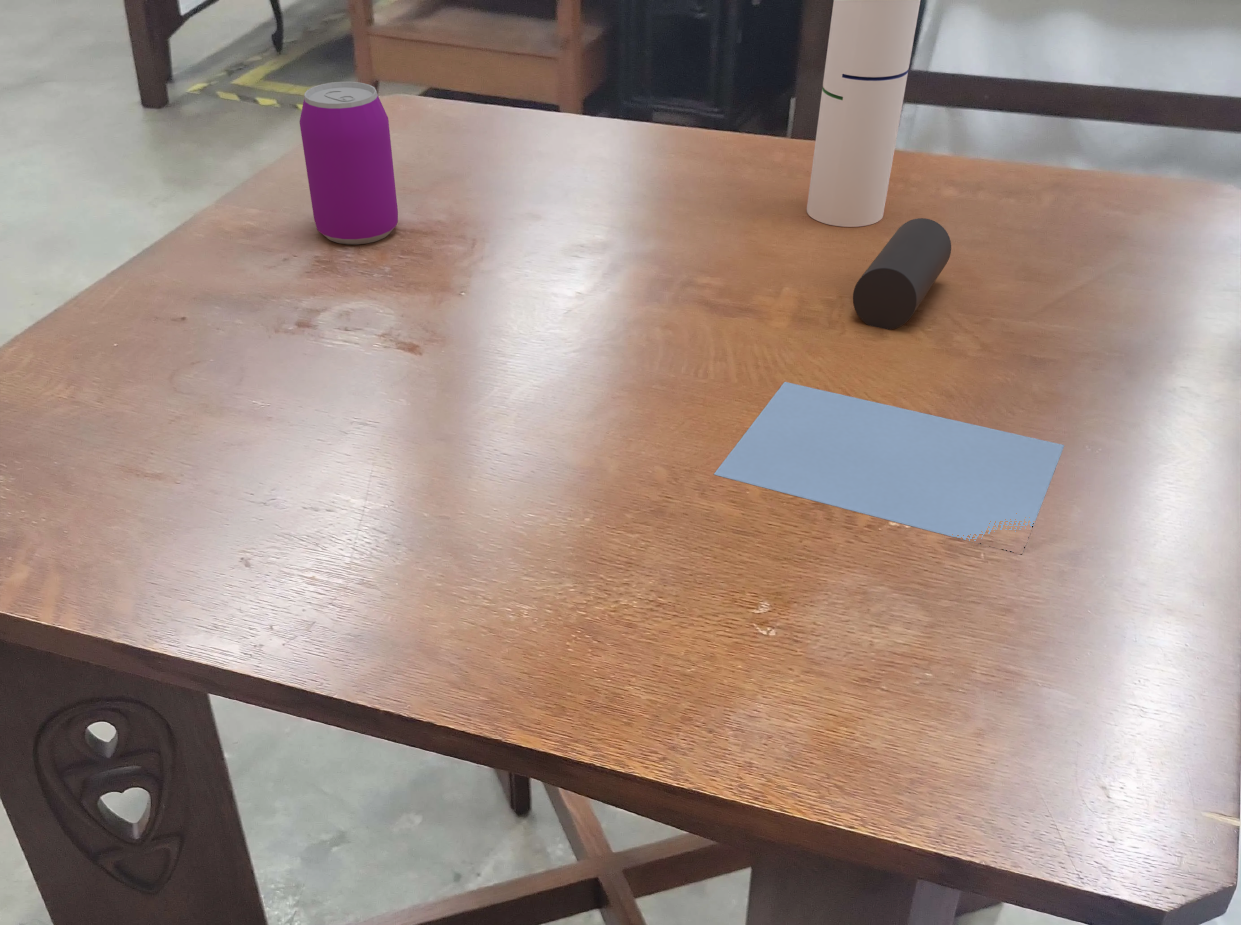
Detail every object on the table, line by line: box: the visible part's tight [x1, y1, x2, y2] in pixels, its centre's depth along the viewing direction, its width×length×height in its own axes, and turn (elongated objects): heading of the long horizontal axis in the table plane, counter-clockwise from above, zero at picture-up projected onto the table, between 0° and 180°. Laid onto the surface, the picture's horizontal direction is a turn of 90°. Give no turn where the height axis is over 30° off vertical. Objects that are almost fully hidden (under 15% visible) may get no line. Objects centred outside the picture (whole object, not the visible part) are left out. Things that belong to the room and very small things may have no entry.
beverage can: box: [299, 81, 399, 245], centre depth 106 cm, size 8×8×12 cm
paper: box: [713, 381, 1065, 542], centre depth 80 cm, size 20×14×1 cm
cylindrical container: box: [806, 0, 921, 228], centre depth 103 cm, size 7×7×25 cm
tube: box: [852, 217, 952, 331], centre depth 96 cm, size 11×5×5 cm, turn 153°
